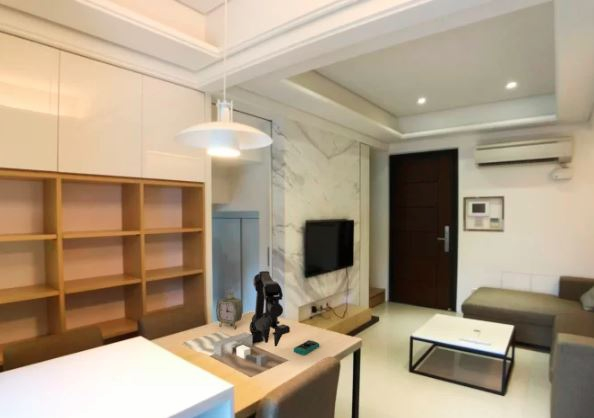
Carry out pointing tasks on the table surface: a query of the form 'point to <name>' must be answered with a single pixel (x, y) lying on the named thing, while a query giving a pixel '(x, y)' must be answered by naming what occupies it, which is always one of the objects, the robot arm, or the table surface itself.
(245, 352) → the plug
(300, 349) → the digital multimeter
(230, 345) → the motor housing
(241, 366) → the base board
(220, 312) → the tabletop clock
